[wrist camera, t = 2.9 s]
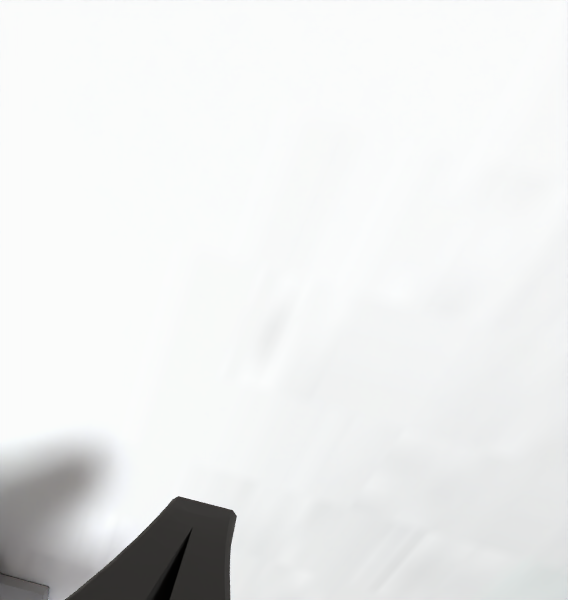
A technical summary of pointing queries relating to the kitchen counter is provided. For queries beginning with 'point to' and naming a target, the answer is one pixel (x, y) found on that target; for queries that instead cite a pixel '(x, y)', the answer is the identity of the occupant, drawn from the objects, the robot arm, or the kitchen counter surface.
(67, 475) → the kitchen counter surface
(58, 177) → the kitchen counter surface
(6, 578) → the mat
